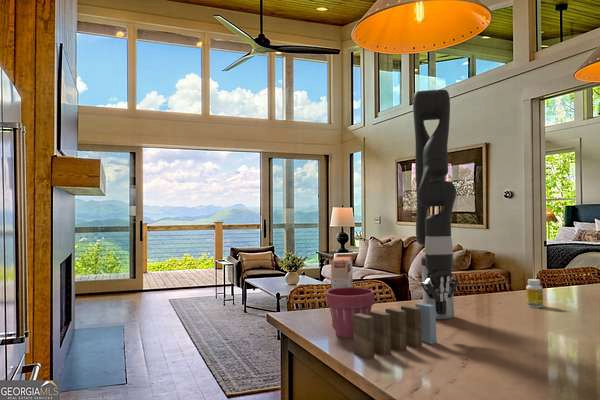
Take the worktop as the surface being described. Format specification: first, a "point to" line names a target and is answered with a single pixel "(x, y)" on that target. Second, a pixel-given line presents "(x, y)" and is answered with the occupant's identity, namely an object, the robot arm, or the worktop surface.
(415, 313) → the domino
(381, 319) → the domino
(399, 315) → the domino
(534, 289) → the supplement bottle
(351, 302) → the plant pot
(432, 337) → the domino
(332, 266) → the cracker box
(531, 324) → the worktop surface
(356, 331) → the domino
